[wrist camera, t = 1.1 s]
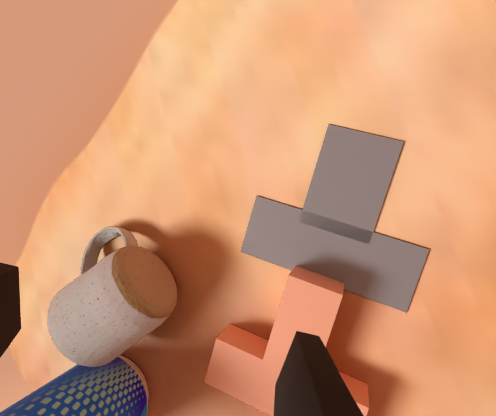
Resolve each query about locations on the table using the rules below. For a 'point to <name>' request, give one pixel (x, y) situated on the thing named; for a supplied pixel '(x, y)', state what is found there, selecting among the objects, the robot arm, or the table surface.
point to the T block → (279, 343)
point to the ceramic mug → (111, 301)
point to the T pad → (342, 222)
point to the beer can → (89, 393)
